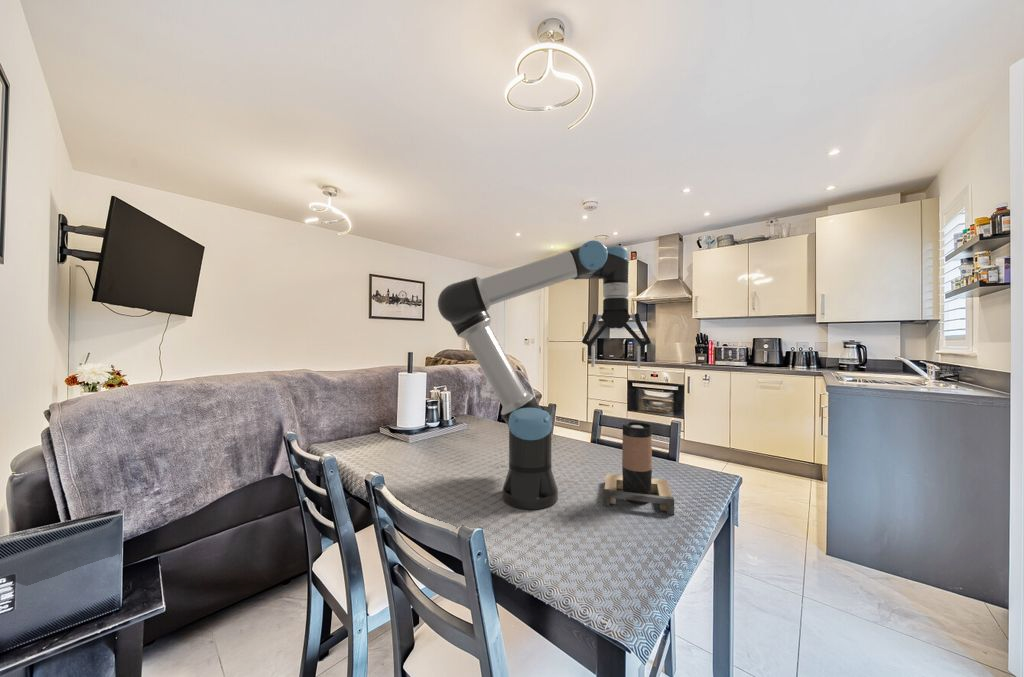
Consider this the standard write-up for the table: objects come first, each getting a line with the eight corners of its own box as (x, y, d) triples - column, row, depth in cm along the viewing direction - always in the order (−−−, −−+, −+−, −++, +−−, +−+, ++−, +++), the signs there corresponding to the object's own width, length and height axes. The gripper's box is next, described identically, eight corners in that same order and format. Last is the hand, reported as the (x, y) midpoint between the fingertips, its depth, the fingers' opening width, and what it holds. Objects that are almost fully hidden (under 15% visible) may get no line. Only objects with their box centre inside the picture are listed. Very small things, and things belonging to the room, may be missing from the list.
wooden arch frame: (603, 505, 97) (603, 491, 97) (606, 481, 113) (606, 469, 113) (674, 514, 92) (674, 499, 92) (667, 488, 108) (667, 475, 108)
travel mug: (654, 505, 97) (654, 429, 97) (623, 503, 98) (623, 427, 98) (649, 493, 104) (649, 422, 104) (621, 491, 106) (621, 421, 106)
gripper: (573, 298, 115) (573, 367, 115) (660, 295, 107) (660, 369, 107) (576, 300, 122) (576, 365, 122) (658, 298, 114) (657, 367, 114)
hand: (615, 367), depth 114 cm, fingers open, 13 cm apart
